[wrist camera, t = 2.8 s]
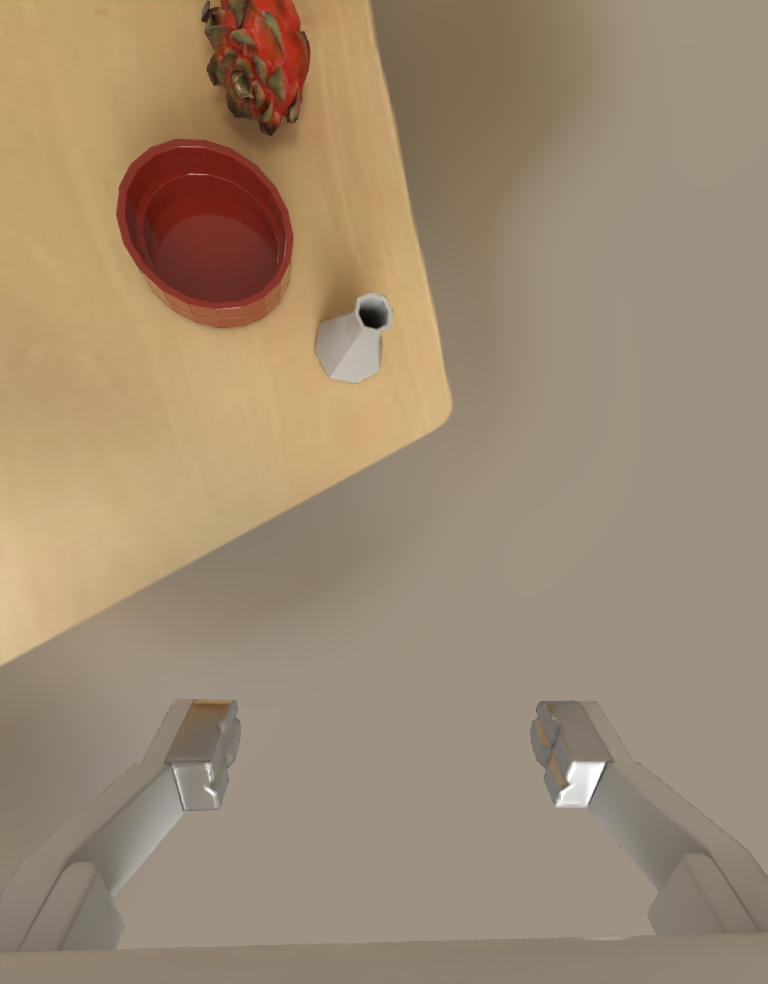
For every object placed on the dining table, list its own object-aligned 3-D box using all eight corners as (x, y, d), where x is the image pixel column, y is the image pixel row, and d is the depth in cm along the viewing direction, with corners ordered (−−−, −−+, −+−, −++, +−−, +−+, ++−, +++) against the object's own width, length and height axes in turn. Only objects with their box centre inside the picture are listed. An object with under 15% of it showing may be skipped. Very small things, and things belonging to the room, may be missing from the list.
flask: (322, 388, 40) (339, 363, 31) (307, 316, 39) (320, 267, 30) (388, 379, 42) (423, 353, 33) (375, 310, 41) (408, 262, 32)
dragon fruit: (254, 176, 39) (251, 66, 40) (331, 144, 36) (326, 26, 37) (184, 88, 31) (182, -47, 32) (275, 37, 28) (270, -110, 29)
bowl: (111, 280, 35) (86, 249, 30) (175, 152, 35) (161, 102, 31) (255, 355, 38) (253, 338, 33) (311, 237, 39) (317, 204, 34)
